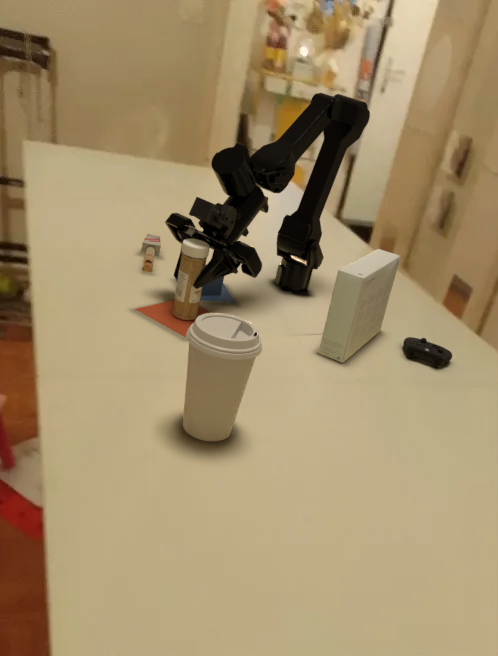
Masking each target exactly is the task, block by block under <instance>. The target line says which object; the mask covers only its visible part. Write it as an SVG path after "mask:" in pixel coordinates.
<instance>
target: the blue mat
mask: <svg viewBox="0 0 498 656" xmlns="http://www.w3.org/2000/svg"><path fill="white" fill-rule="evenodd" d="M177 280H178V279H176V278H175V281H176V282H177ZM200 301H203V302H214V303H223V304H224V303H226V304H237V303H236V300H235V299H234V297H233V296H232V294H231V292H230V291H229V290H228V288H227V287H226V285H225V284H224V283H223V285H222V291H221V295H201V297H200Z"/></svg>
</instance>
